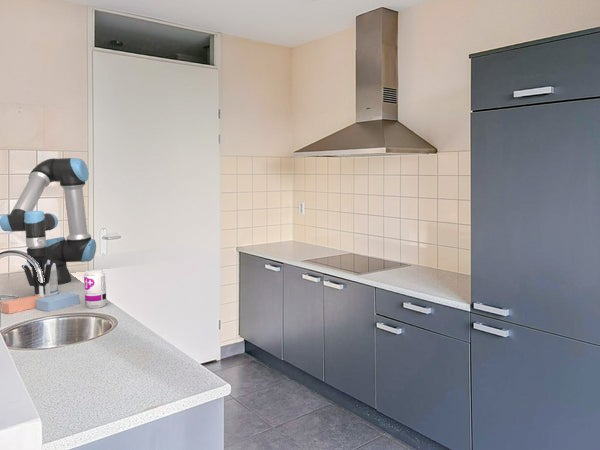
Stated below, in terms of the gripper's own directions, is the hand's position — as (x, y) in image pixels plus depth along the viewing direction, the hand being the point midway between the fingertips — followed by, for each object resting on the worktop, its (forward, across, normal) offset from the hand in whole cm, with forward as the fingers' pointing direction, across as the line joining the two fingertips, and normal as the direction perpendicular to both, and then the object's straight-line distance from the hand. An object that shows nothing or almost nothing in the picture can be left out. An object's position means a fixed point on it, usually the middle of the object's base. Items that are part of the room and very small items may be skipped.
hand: (40, 300), depth 208 cm
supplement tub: (+2, +11, +14) cm, 18 cm away
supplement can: (+2, +10, -24) cm, 26 cm away
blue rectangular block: (+2, +2, -9) cm, 10 cm away
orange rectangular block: (+2, -8, 0) cm, 8 cm away
